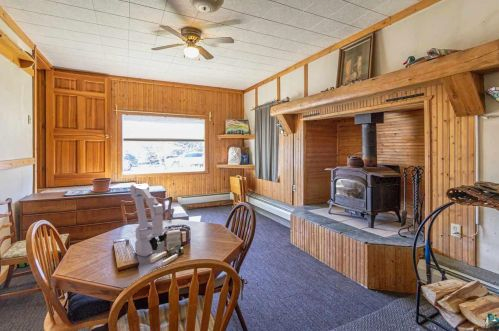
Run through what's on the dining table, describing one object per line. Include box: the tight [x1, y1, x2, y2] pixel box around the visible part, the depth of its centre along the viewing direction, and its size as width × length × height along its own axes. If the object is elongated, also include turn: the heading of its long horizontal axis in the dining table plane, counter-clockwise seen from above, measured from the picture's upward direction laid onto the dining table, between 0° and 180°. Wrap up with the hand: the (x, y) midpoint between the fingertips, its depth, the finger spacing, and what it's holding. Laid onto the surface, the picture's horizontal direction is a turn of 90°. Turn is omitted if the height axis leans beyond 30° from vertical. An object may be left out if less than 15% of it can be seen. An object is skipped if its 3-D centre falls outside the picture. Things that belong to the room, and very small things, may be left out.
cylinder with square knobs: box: [168, 245, 185, 256], centre depth 164 cm, size 6×8×4 cm
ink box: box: [165, 229, 182, 252], centre depth 172 cm, size 9×5×12 cm, turn 117°
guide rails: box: [149, 251, 179, 267], centre depth 155 cm, size 10×12×2 cm
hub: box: [151, 238, 165, 255], centre depth 151 cm, size 5×5×6 cm
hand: (157, 248), depth 151 cm, fingers closed on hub, 5 cm apart
